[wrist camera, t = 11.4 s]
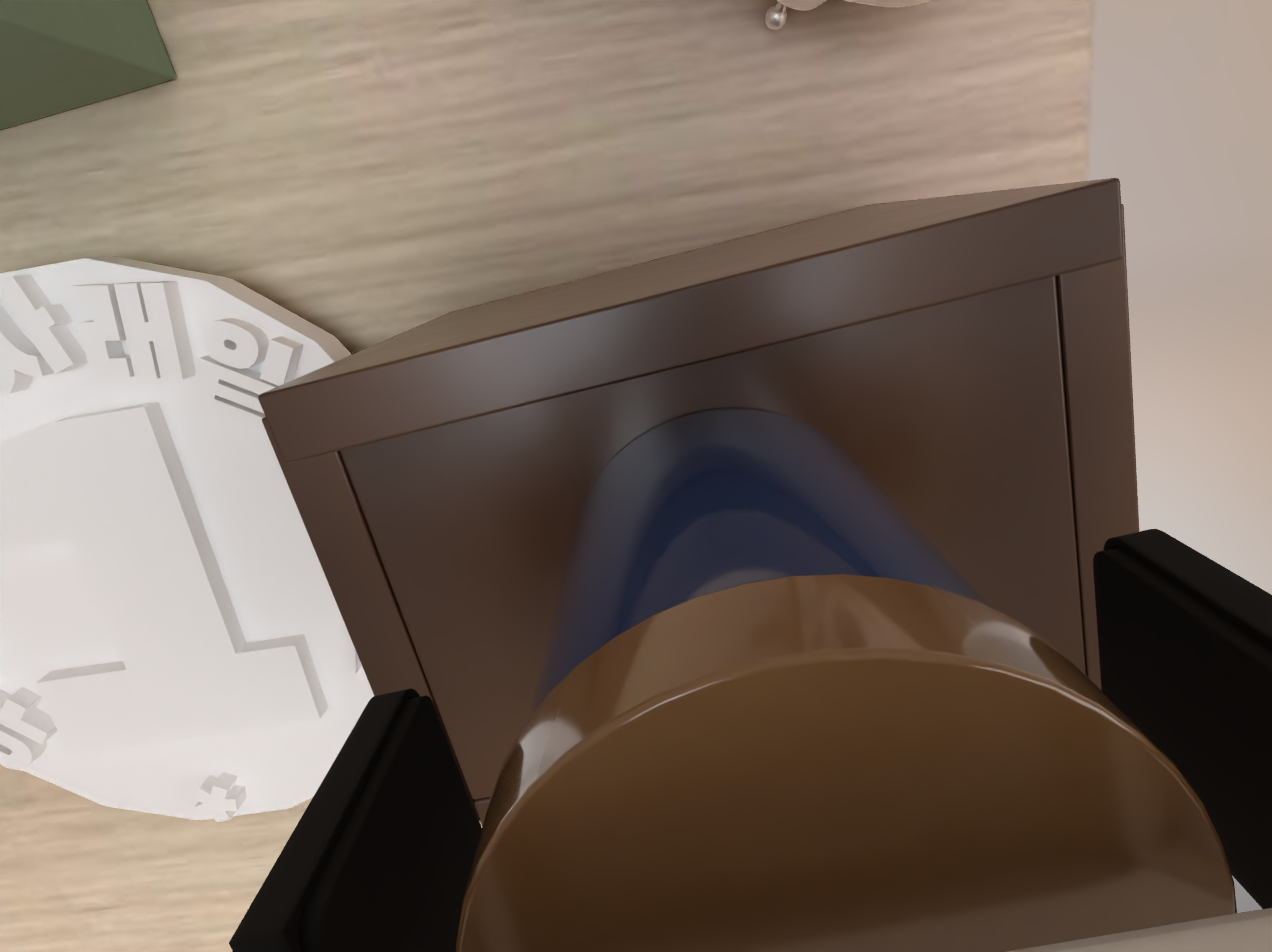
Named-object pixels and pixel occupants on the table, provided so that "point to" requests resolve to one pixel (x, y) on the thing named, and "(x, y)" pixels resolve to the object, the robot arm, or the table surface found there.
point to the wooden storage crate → (724, 379)
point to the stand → (75, 55)
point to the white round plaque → (160, 547)
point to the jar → (811, 735)
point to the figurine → (778, 15)
